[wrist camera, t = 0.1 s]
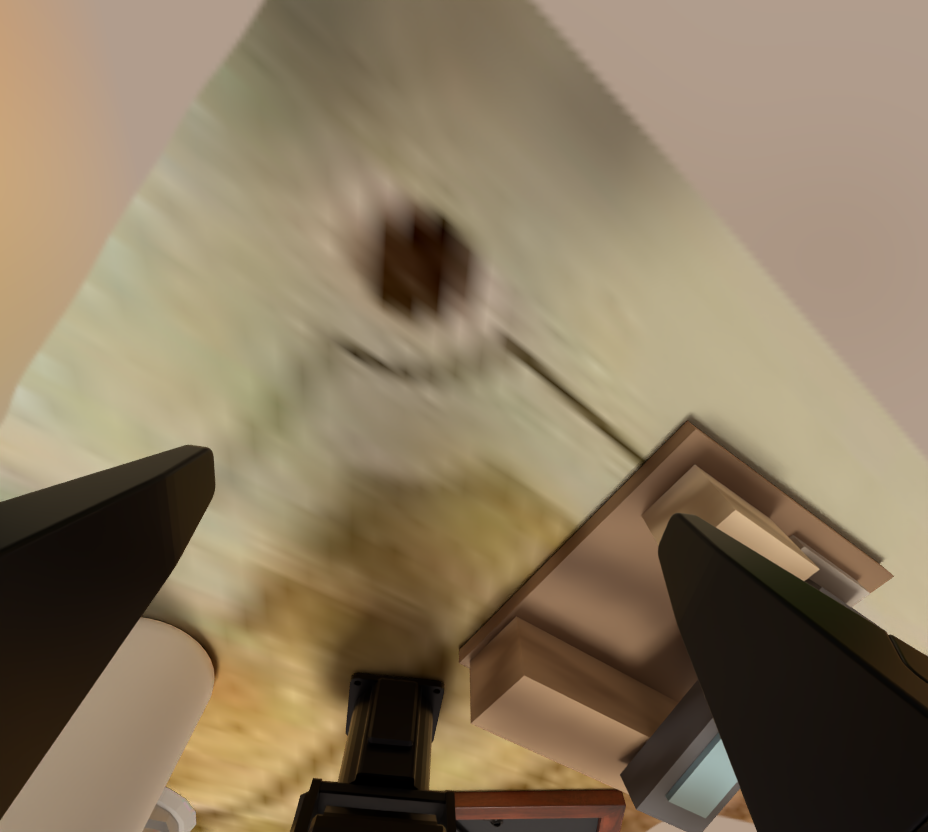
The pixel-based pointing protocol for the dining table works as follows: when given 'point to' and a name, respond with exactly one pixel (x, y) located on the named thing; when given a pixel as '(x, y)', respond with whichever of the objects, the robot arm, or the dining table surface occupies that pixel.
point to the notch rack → (634, 609)
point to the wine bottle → (120, 738)
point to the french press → (171, 814)
